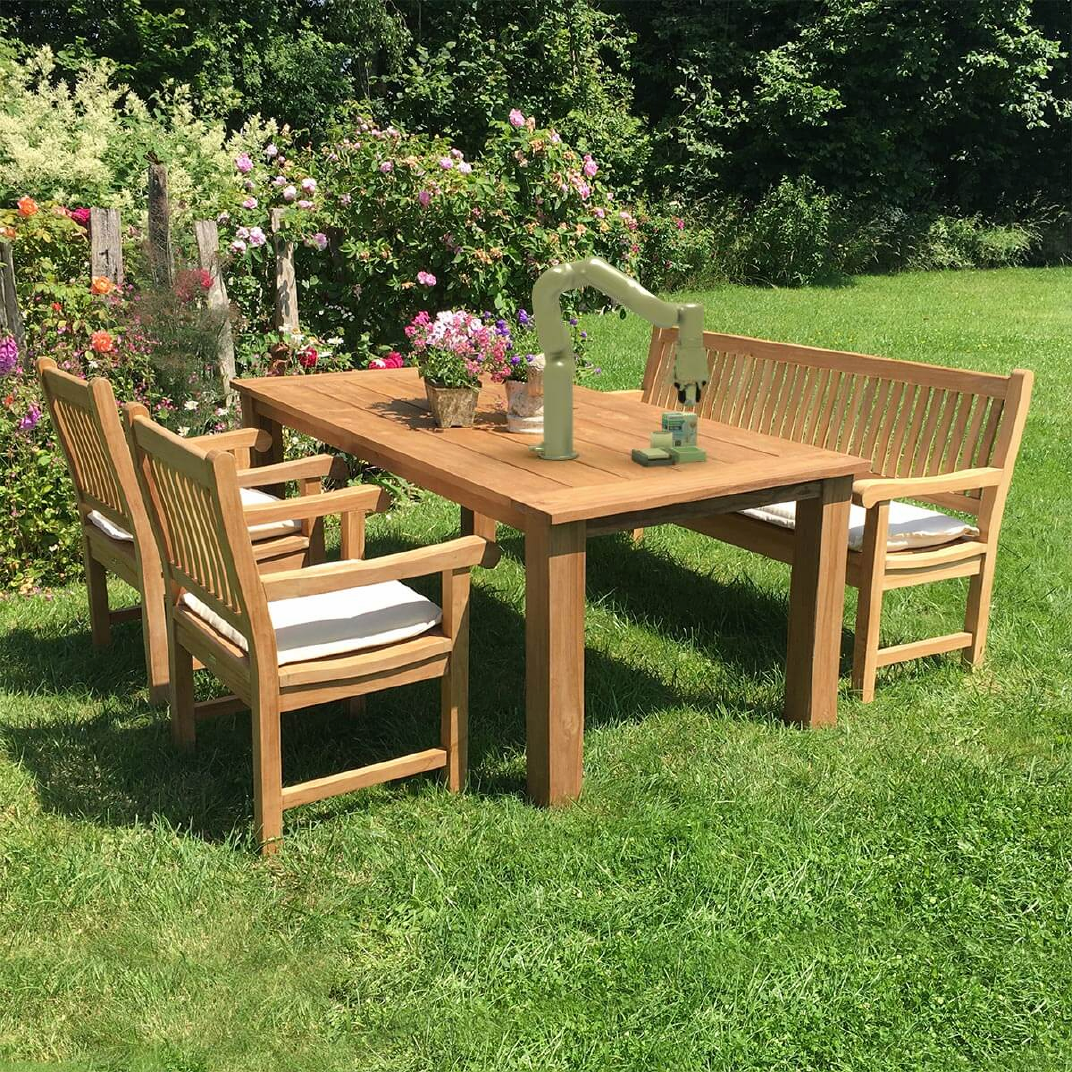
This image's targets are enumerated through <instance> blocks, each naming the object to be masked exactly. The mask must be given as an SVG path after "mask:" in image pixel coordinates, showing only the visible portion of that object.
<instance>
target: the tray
mask: <svg viewBox="0 0 1072 1072" xmlns="http://www.w3.org/2000/svg"><path fill="white" fill-rule="evenodd" d="M669 452H670V453H672V454H674V455H675V462H677V463H679V464H683V462H686V463H698V462H697V461H701V462H706V461H707V450H704V449H702V448H700V447H698V446H697V445H696V446H687V447H672V448H669Z"/></svg>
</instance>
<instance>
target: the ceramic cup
mask: <svg viewBox="0 0 1072 1072" xmlns="http://www.w3.org/2000/svg"><path fill="white" fill-rule="evenodd" d="M672 434H673V433H672V432H670V431H662V430H654V431H653V430H652V431H650V446H649V447H650V448H658V447H664V448H665V450H667V451H669V448H673V447H672ZM650 448H649V449H650Z"/></svg>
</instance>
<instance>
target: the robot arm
mask: <svg viewBox="0 0 1072 1072" xmlns="http://www.w3.org/2000/svg"><path fill="white" fill-rule="evenodd" d="M588 286H591V287H592V288H594V289H595V290H598V291H599V292H601V293H603V294H604V295H605V296H607V297H609V298H611V299H612V300H613V301H616V302H617V303H619V304H620V305H621V306H623V307H624V308H626V309H628V310H629V311H631V312H632V313H634V314H636V315H638V317H640V318H642V319H644V320H645V321H647V322H648V323H651V324H652V325H654V326H656V327H657V328H659V329H662V330H669V329H672V328H674V327H675V326H678V338H677V339H676V340H674V343H673V344H674V346H677V348H676V349H675V353H674V359H673V367H672V373H671V374H670V375H669V377H668V379H667V382H668V383H670V385H673V387H675V389H676V390H677V400H678V403H680V404H681V405H682V404H683V403H685V391H684V389H683V388H684V384H686V382H694V384H697V394H696V404H697V403H700V400H701V398H702V390H703V388H704V387H705V386H706V384H707V383H709V382H710V381H711V380H712V376H711V374H710V373H709V371H708V370H709V369H708V358H707V351H706V348H705V347H703V346H704V312H705V311H704V310H705V309H704V306H703V304H702V303H698V302H685V303H678V302H672V301H664V300H662V299H660V298H659V297H657V296H656V295H654V294H652V293H651V292H650V291H648V290H647V289H645V288H644V287H643V286H642V285H641V284H640V283H639V281H637V279H635V278H633V277H631V276H630V275H629V274H627V273H625V272H623V271H621V270H619V269H618V268H616V267H615V266H613V265H611V264H610V263H609V262H608V261H607V259H605V257H604V258H603V257H602V256H597V255H595V256H594V255H593V256H590V257H587V258H584V259H579V260H574V261H569V262H565V263H560V264H556V265H553V266H551V267H549V268H548V269H547V270H545V271H544V272H543V273H542V274H541V275H540V276H539V277H538V278H537V279H536V281H535V283H534V285H533V287H532V293H531V302H532V303H531V304H532V309H533V317H534V325H535V330H536V335H537V342H538V343H537V344H538V346H539V348H540V349H541V350H542V351H543V356H544V361H545V365H544V367H543V369H542V373H541V374H542V375H541V381H542V383H541V384H542V405H543V407H542V409H543V410H542V411H543V412H542V413H543V414H542V415H543V421H542V422H543V441H540V443H538V445H537V444H536V445H535V444H534V445H533V444H532V445H529V446H528V451H529V452H535V453H538V457H539V456H540V457H539V458H541V459H543V460H550V461H551V460H552V461H562V460H563V461H564V460H565V461H566V460H572V459H576V458H578V456H579V452H578V451H577V450H574V386H573V385H574V384H573V381H574V377H575V375H576V371H577V367H576V361H575V354H574V349H573V343H572V338H571V337H572V336H571V333H570V330H569V328H568V327H567V325H565V324H564V323H563V317H562V311H561V305H560V296H561V295H562V293H564V292H567V291H571V290H575V289H576V290H577V289H580V288H584V287H588Z"/></svg>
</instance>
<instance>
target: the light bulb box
mask: <svg viewBox="0 0 1072 1072" xmlns="http://www.w3.org/2000/svg"><path fill="white" fill-rule="evenodd" d="M698 417H699V416H698V414H697V413H694V411H675V412H674V411H672V412H662V413H661V431H670V432H672V433H673V434H672V448H673V447H688V446H696V447H697V439H698V420H699V419H698Z"/></svg>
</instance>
